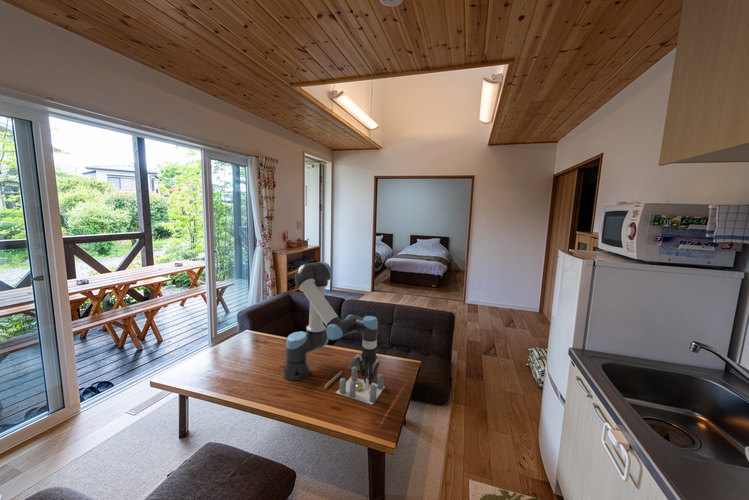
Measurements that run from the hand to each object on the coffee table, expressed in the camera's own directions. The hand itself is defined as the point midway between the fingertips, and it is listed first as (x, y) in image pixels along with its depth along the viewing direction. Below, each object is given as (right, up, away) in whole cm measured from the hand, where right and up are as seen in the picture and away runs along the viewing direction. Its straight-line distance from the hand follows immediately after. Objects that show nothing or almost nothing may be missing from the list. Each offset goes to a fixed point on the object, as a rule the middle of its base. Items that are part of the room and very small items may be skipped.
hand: (367, 389), depth 150 cm
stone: (-6, 0, +24) cm, 25 cm away
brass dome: (-5, -1, +2) cm, 6 cm away
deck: (-7, -2, +3) cm, 8 cm away
